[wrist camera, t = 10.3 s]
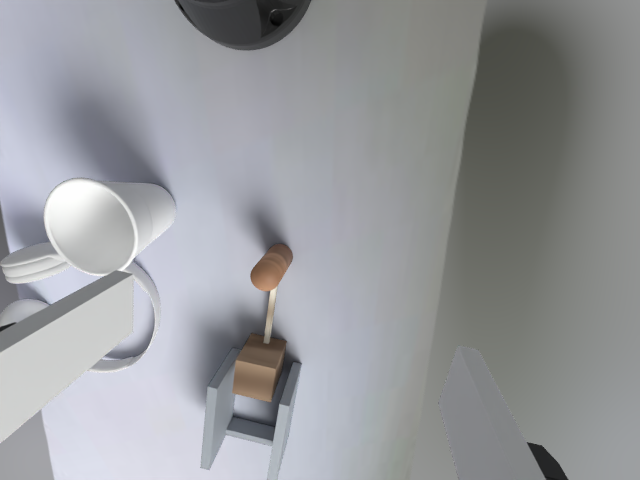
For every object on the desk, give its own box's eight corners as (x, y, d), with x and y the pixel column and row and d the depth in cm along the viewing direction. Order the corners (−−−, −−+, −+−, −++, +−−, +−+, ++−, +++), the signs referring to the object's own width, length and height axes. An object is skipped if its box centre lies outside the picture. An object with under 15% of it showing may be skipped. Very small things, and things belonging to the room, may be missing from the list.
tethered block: (262, 240, 44) (243, 259, 37) (301, 248, 43) (289, 268, 37) (247, 363, 49) (229, 398, 43) (281, 371, 49) (268, 408, 42)
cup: (201, 238, 45) (150, 269, 34) (133, 249, 47) (65, 282, 36) (178, 160, 42) (116, 169, 32) (107, 175, 44) (26, 187, 34)
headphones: (-24, 357, 46) (130, 399, 48) (-14, 233, 40) (160, 289, 43) (20, 326, 52) (153, 364, 55) (33, 216, 47) (181, 265, 49)
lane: (232, 347, 49) (207, 386, 41) (301, 363, 48) (289, 406, 41) (224, 420, 53) (200, 467, 45) (288, 435, 52) (274, 487, 45)
